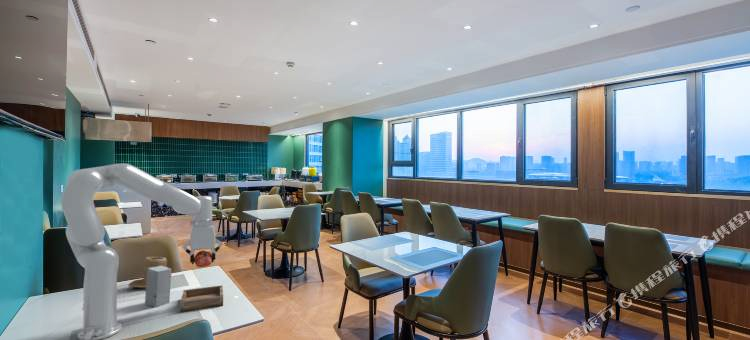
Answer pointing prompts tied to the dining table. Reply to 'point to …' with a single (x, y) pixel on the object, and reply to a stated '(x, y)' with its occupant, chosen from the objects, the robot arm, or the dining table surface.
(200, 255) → the pomegranate
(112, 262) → the robot arm
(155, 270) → the skincare box
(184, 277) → the dining table surface
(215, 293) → the walnut tray
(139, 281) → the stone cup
